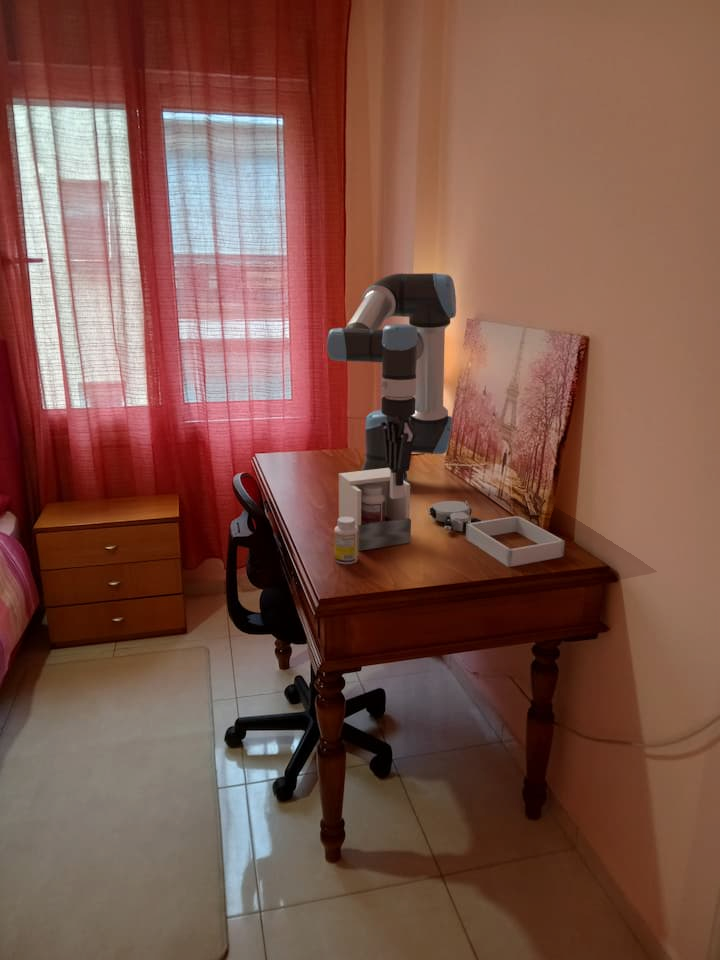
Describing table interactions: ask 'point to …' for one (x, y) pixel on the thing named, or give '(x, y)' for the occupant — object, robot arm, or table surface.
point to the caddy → (353, 491)
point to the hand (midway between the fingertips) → (396, 497)
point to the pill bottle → (372, 505)
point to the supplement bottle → (346, 541)
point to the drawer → (384, 534)
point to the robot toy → (452, 514)
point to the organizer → (544, 549)
